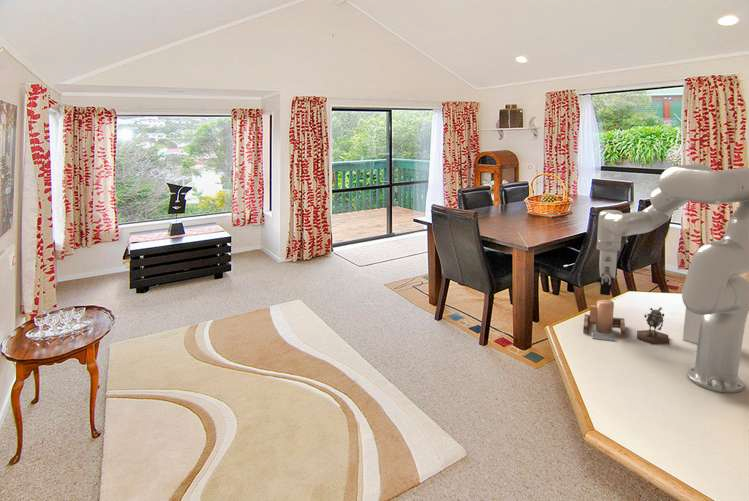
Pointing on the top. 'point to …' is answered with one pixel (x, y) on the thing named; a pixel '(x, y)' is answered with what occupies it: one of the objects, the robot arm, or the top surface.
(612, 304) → the peach rounded cylinder
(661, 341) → the robot figurine
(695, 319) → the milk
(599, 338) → the mat
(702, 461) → the top surface
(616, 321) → the frame
